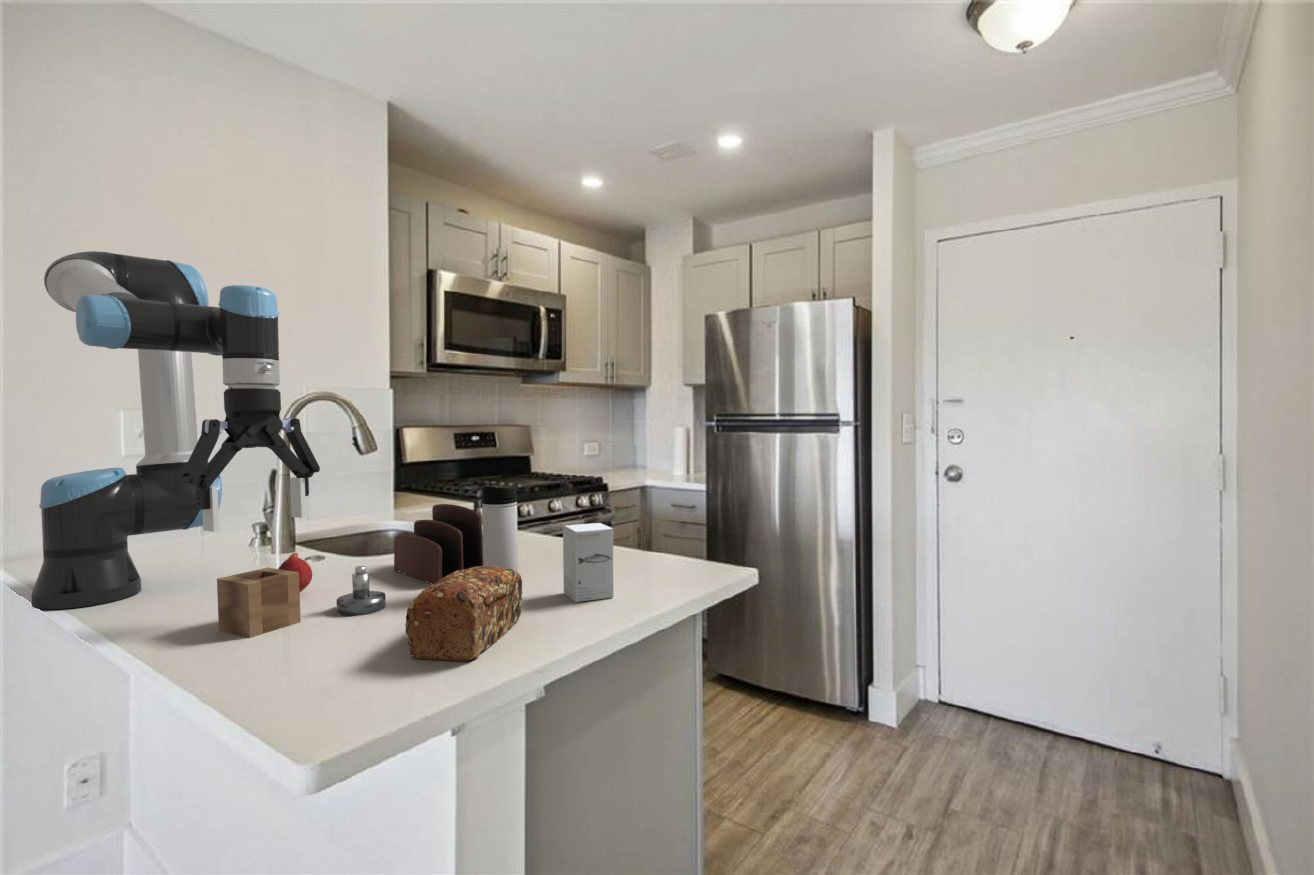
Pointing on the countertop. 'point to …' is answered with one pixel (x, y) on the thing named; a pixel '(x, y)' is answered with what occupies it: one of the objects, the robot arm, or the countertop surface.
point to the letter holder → (441, 544)
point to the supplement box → (588, 561)
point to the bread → (463, 613)
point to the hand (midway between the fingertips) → (257, 523)
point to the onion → (298, 569)
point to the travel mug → (500, 527)
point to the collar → (258, 601)
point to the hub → (361, 596)
